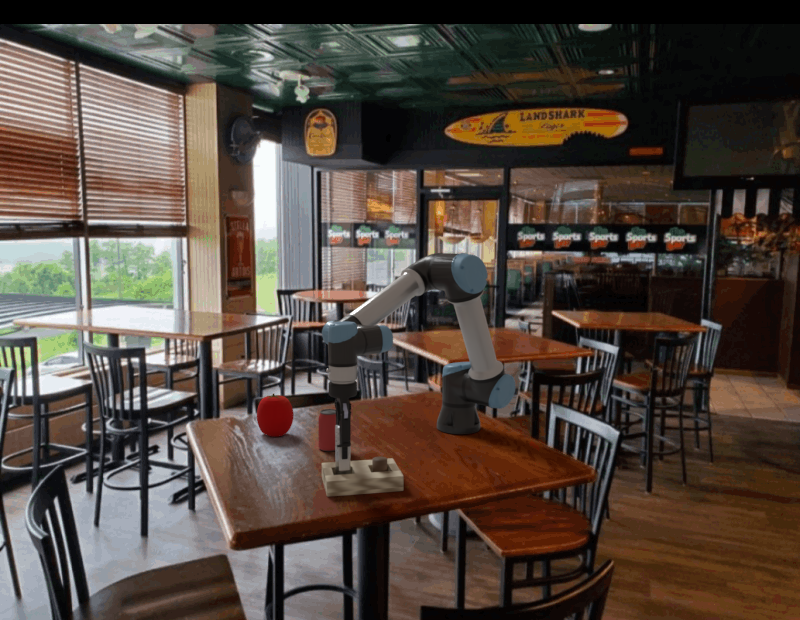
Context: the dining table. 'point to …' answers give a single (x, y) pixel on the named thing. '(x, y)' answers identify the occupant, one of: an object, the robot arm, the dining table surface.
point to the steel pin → (337, 442)
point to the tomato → (274, 415)
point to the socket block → (363, 477)
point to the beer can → (327, 429)
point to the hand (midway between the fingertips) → (343, 466)
